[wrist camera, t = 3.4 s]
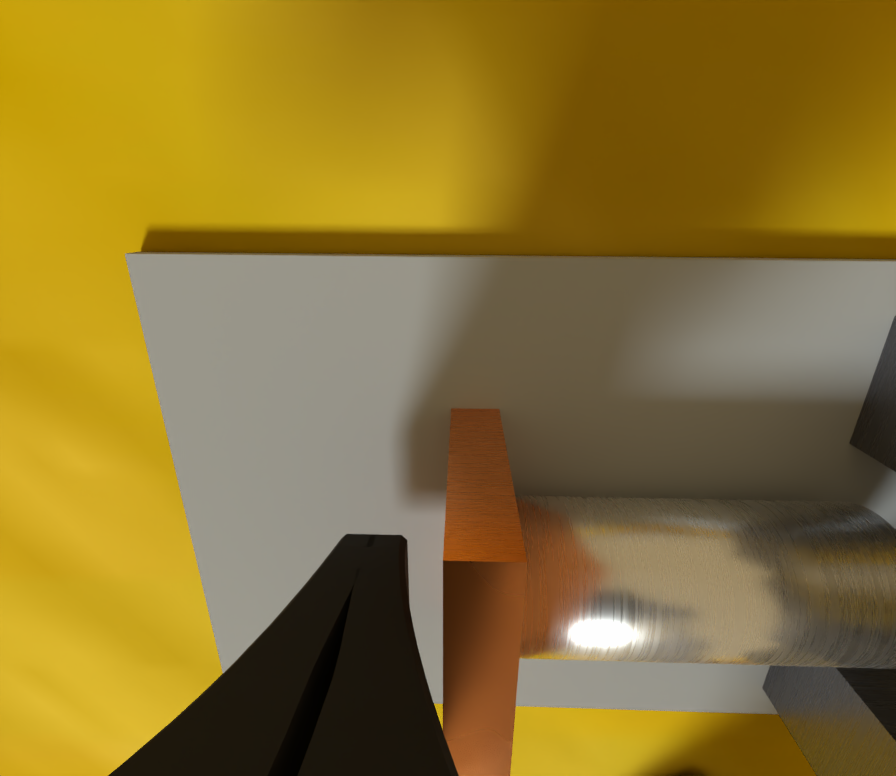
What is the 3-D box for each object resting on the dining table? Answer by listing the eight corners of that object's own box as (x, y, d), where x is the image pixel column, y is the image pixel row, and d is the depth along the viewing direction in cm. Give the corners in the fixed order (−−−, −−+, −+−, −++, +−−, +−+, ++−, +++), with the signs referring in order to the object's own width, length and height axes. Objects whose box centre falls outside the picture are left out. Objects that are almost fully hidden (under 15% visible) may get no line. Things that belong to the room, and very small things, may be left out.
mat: (1308, 263, 9) (1347, 265, 8) (1018, 707, 13) (1035, 722, 13) (138, 252, 9) (124, 253, 9) (235, 683, 14) (228, 696, 13)
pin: (842, 413, 10) (1139, 576, 5) (771, 626, 12) (944, 862, 7) (451, 408, 10) (442, 561, 6) (449, 618, 12) (443, 842, 8)
